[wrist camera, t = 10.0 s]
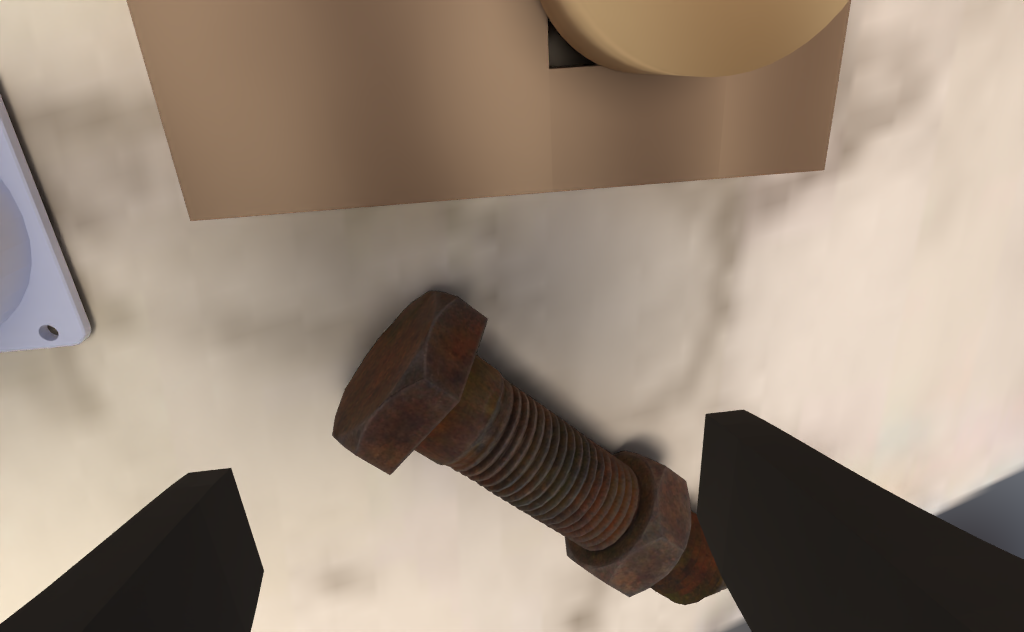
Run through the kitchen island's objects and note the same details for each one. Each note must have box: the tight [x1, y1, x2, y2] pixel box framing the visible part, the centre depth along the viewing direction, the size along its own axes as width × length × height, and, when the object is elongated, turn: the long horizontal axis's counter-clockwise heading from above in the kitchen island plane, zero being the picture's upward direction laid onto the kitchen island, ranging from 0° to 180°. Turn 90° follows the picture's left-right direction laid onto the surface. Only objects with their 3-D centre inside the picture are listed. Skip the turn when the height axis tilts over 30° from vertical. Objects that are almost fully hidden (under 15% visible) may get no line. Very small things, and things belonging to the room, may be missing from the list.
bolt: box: [332, 291, 727, 605], centre depth 20 cm, size 6×5×15 cm
